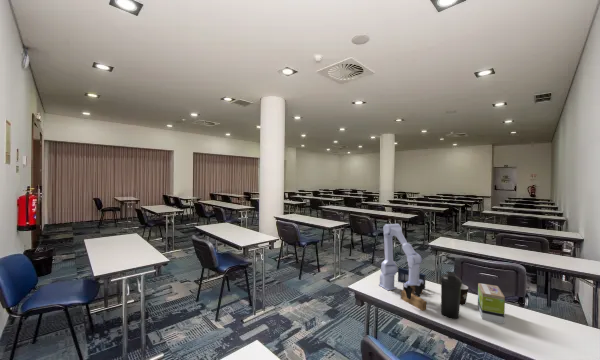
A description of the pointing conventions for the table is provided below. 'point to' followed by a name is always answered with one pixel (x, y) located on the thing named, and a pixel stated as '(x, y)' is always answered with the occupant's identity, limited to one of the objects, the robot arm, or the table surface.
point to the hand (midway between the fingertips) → (413, 297)
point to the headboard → (413, 289)
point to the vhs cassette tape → (404, 276)
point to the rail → (414, 301)
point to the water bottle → (450, 295)
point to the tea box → (491, 303)
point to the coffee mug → (463, 294)
